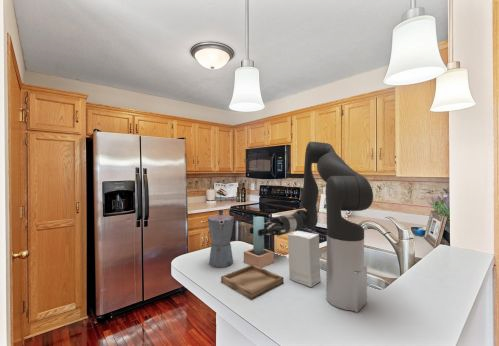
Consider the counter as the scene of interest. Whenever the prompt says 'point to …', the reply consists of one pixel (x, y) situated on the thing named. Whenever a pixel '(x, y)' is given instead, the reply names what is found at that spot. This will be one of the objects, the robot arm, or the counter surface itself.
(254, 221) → the dowel pin
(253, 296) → the tray
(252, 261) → the square terracotta collar
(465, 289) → the counter surface
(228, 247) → the moka pot
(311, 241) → the skincare box
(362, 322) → the counter surface
